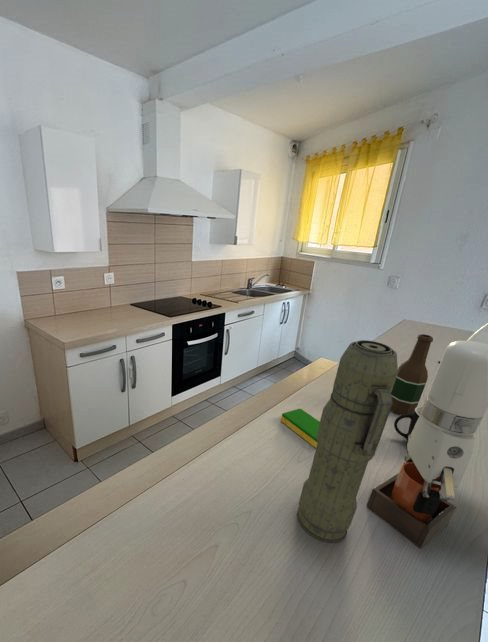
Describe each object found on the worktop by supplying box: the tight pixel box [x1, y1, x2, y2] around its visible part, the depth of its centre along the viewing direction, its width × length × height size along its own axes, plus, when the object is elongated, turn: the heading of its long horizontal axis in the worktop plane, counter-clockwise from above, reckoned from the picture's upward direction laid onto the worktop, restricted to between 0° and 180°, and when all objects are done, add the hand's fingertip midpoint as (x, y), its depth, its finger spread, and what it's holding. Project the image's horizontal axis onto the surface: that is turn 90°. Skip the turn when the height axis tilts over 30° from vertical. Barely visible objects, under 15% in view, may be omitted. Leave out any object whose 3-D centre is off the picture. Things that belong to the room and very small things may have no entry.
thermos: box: [296, 339, 399, 544], centre depth 53 cm, size 9×12×35 cm
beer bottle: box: [390, 333, 434, 416], centre depth 94 cm, size 8×8×24 cm
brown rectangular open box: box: [366, 472, 457, 549], centre depth 61 cm, size 10×10×4 cm
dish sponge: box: [280, 408, 320, 449], centre depth 85 cm, size 7×14×2 cm, turn 28°
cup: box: [389, 462, 440, 525], centre depth 60 cm, size 7×7×10 cm
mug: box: [393, 405, 423, 444], centre depth 80 cm, size 12×9×10 cm
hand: (414, 495), depth 60 cm, fingers closed on cup, 6 cm apart
